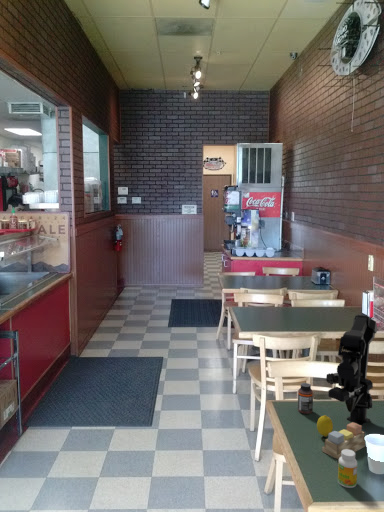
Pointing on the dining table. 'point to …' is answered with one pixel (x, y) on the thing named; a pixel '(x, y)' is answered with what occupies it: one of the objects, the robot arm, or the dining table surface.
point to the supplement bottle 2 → (347, 469)
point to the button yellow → (346, 434)
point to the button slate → (336, 437)
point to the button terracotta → (354, 428)
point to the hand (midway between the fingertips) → (350, 411)
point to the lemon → (324, 425)
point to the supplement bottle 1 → (305, 399)
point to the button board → (344, 445)
